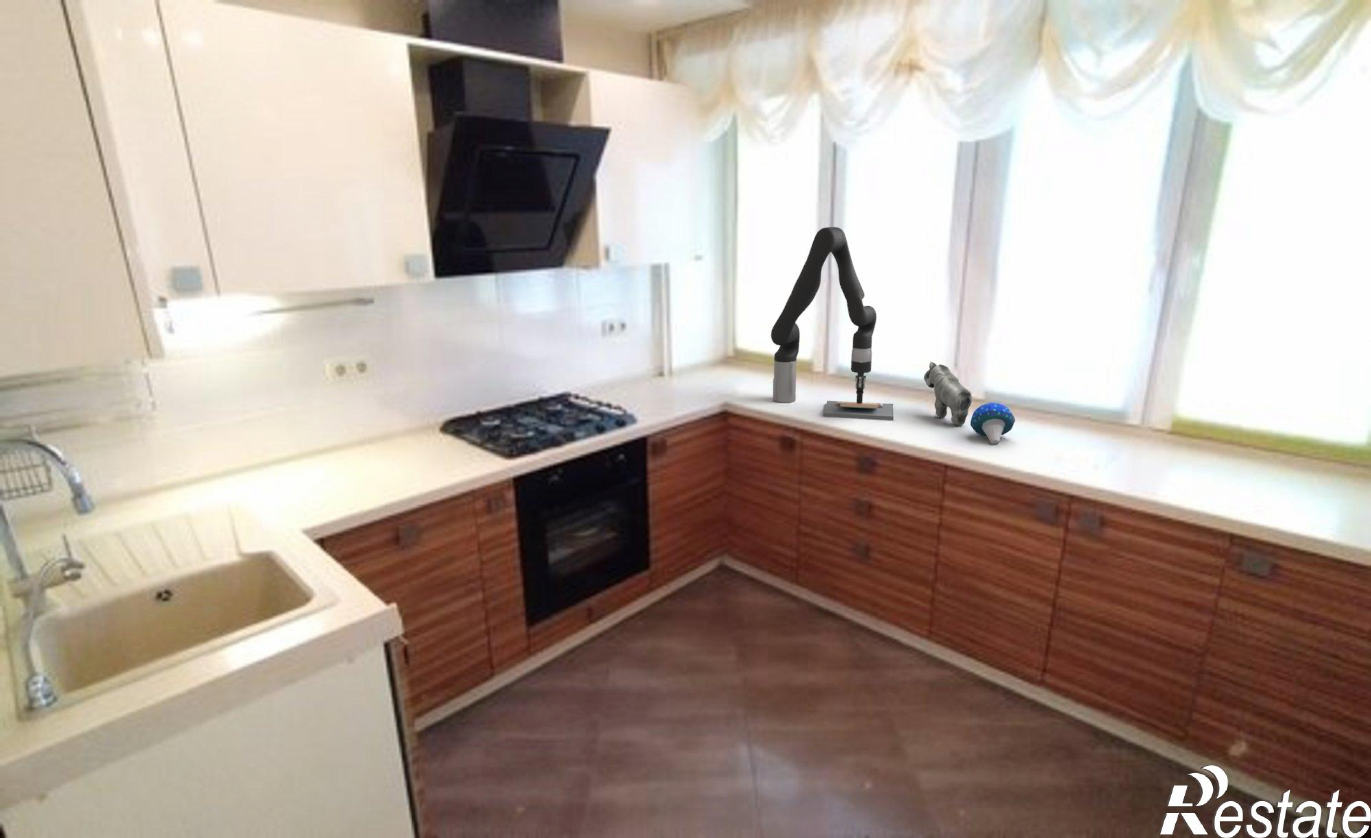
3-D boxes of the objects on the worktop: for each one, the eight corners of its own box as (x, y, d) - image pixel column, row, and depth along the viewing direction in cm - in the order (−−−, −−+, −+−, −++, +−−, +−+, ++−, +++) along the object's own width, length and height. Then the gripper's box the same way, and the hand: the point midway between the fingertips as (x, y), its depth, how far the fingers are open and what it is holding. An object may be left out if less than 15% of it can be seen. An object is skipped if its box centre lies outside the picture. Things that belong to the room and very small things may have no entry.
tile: (841, 401, 267) (841, 405, 267) (840, 402, 257) (840, 406, 257) (877, 403, 263) (877, 406, 263) (877, 404, 253) (877, 408, 254)
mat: (823, 416, 258) (823, 408, 257) (827, 404, 275) (827, 396, 274) (893, 420, 251) (893, 412, 250) (892, 407, 268) (893, 399, 267)
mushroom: (984, 426, 217) (979, 390, 225) (964, 449, 228) (961, 414, 237) (1026, 434, 216) (1020, 398, 225) (1005, 457, 228) (1000, 422, 237)
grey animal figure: (974, 426, 241) (980, 372, 235) (953, 429, 239) (958, 375, 233) (933, 408, 264) (937, 359, 258) (913, 410, 262) (917, 361, 256)
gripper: (851, 355, 260) (850, 398, 265) (850, 362, 248) (848, 407, 253) (871, 356, 258) (869, 399, 263) (871, 363, 246) (869, 408, 251)
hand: (859, 403), depth 258 cm, fingers closed
